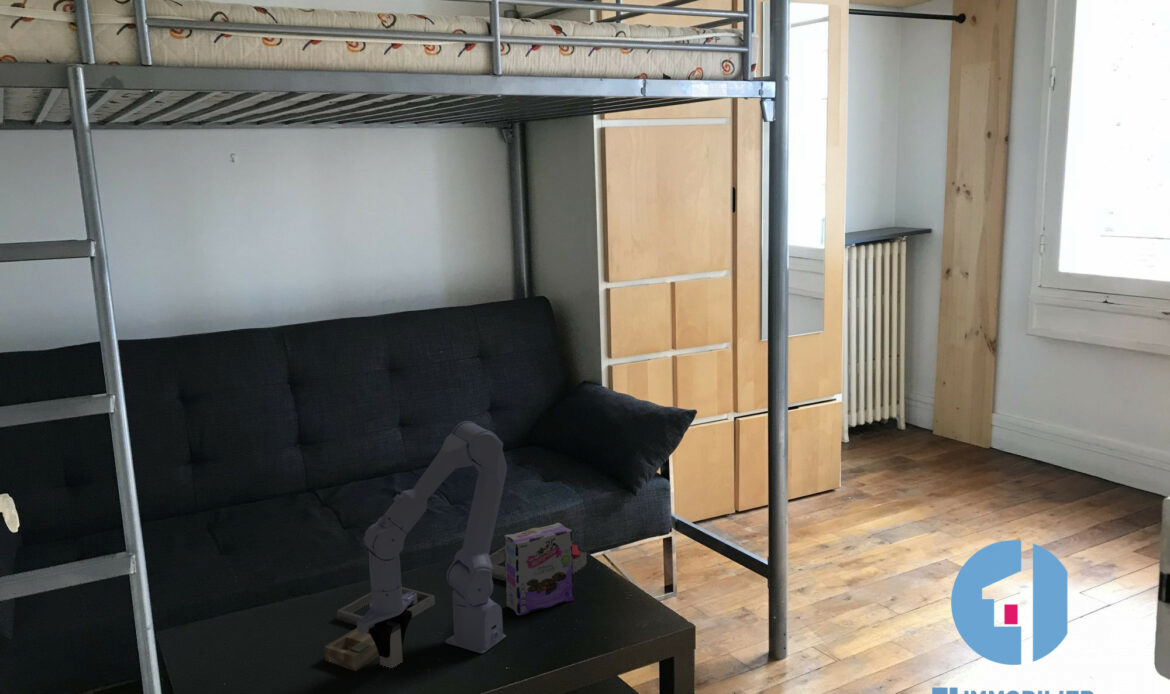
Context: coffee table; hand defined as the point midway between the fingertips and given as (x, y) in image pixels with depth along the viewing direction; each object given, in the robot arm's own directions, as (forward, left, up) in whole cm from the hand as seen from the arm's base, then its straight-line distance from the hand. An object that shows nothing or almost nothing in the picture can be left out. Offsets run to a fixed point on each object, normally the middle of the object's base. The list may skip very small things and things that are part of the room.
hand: (390, 651), depth 183 cm
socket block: (+8, -1, -2) cm, 8 cm away
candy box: (-11, -35, -3) cm, 37 cm away
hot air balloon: (-3, -51, -3) cm, 51 cm away
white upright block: (0, 0, -2) cm, 2 cm away
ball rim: (0, -49, -2) cm, 49 cm away
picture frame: (+16, -16, -2) cm, 23 cm away
